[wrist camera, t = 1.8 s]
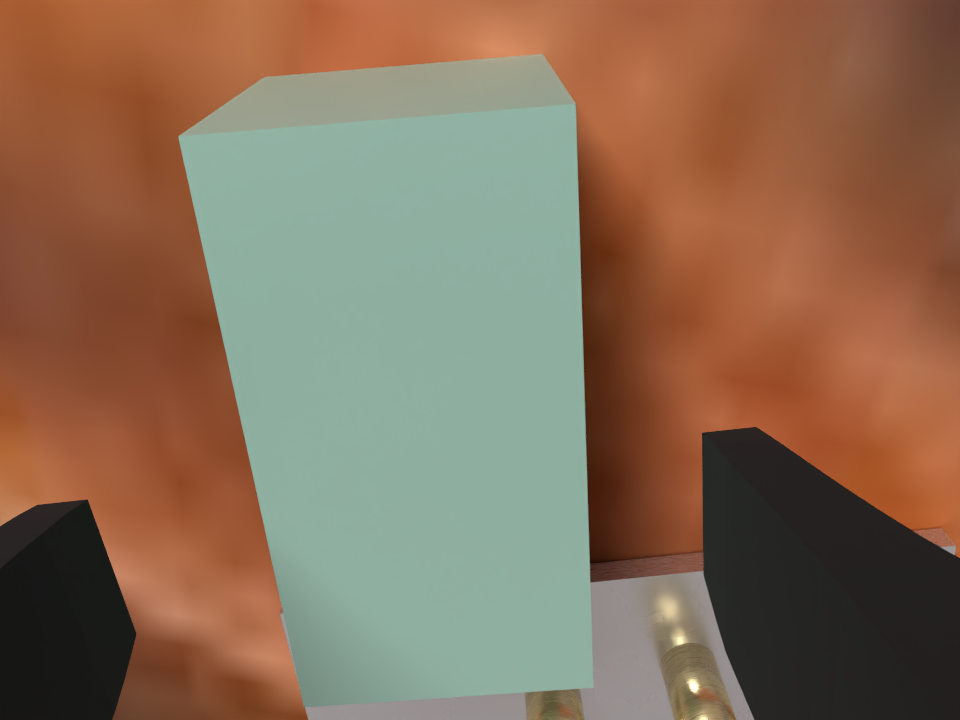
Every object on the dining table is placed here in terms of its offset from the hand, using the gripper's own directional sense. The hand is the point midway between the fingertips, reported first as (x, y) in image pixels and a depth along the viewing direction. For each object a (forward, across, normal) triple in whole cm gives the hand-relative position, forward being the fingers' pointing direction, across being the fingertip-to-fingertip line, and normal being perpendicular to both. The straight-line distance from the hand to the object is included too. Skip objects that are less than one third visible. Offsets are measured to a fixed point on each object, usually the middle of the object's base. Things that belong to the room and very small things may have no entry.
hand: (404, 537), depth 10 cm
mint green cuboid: (+7, 0, 0) cm, 7 cm away
